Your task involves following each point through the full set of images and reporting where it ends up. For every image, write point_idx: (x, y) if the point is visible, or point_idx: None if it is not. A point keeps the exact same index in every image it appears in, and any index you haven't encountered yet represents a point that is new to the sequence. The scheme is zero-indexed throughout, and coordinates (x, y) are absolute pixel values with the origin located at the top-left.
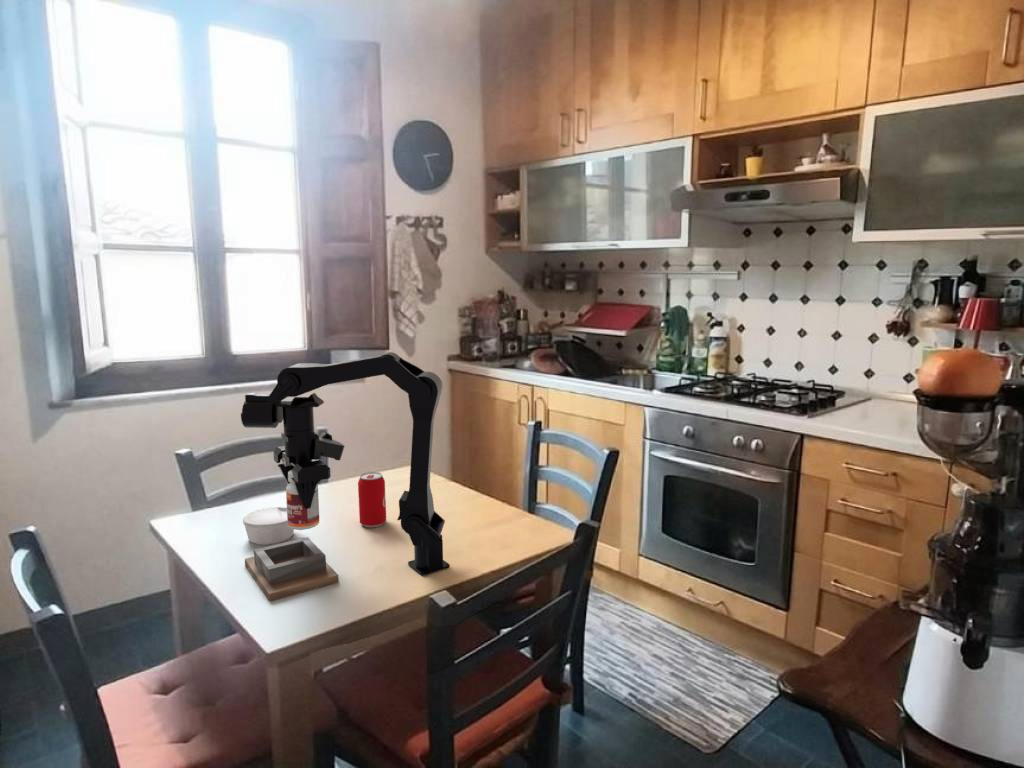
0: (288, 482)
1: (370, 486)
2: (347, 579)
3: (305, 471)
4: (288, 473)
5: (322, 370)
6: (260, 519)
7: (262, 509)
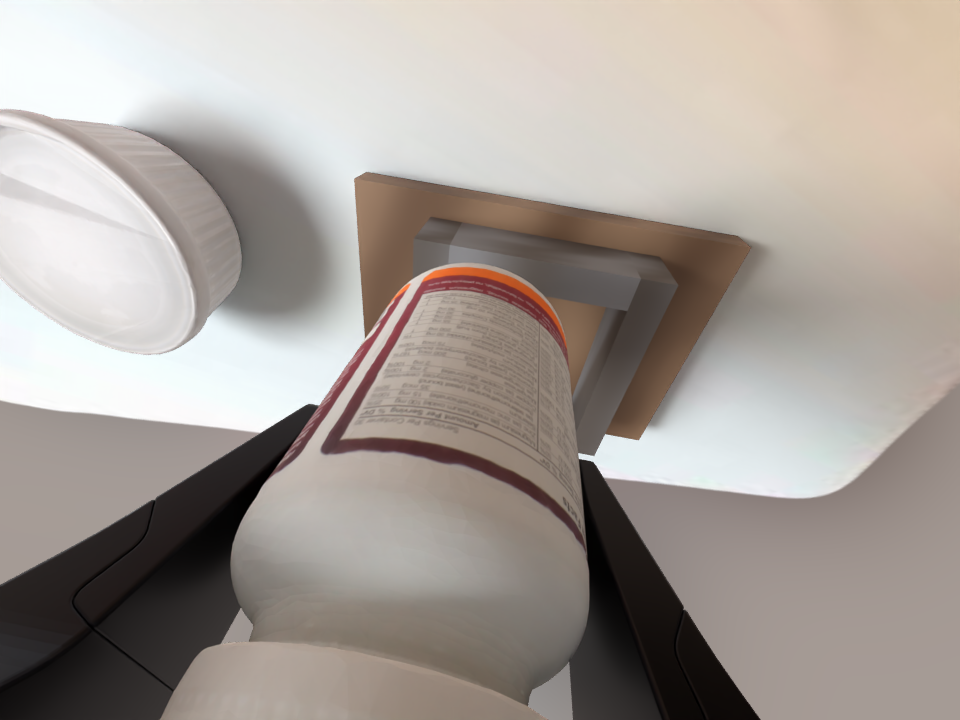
0: (234, 614)
1: None
2: (755, 194)
3: None
4: None
5: None
6: (125, 306)
7: None
